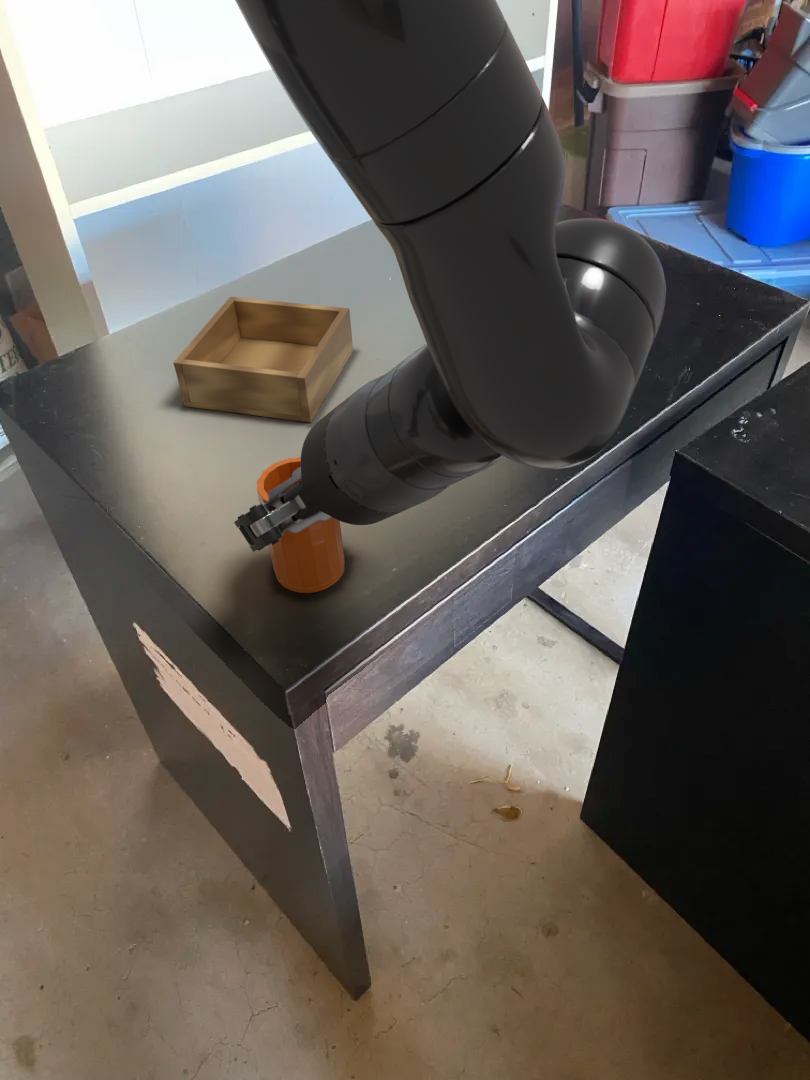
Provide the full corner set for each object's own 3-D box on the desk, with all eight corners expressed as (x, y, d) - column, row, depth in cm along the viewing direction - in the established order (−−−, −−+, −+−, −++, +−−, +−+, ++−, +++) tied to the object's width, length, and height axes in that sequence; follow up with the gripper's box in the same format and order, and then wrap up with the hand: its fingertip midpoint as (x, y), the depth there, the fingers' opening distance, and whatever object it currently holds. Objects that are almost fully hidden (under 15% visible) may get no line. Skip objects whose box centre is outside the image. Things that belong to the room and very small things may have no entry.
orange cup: (264, 586, 65) (244, 500, 59) (290, 538, 69) (274, 452, 62) (331, 598, 64) (319, 511, 57) (354, 549, 67) (344, 462, 61)
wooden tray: (184, 406, 83) (172, 362, 80) (238, 338, 93) (230, 296, 89) (311, 422, 80) (304, 378, 77) (353, 350, 90) (349, 308, 86)
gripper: (436, 346, 52) (330, 426, 67) (254, 450, 45) (181, 513, 59) (497, 448, 53) (380, 505, 67) (328, 566, 46) (238, 600, 60)
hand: (287, 509), depth 63 cm, fingers closed on orange cup, 5 cm apart
